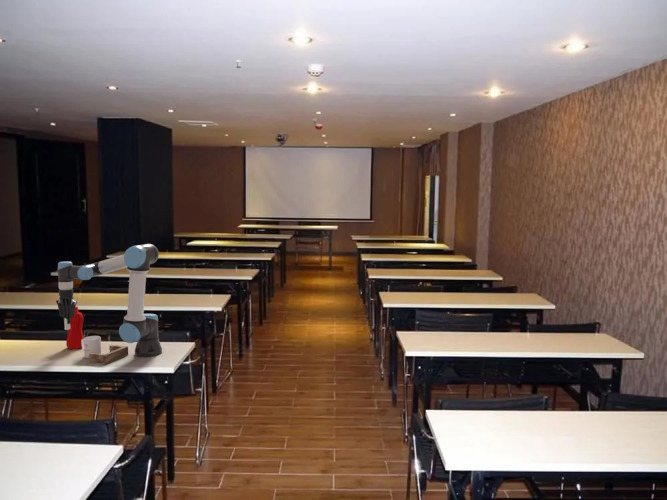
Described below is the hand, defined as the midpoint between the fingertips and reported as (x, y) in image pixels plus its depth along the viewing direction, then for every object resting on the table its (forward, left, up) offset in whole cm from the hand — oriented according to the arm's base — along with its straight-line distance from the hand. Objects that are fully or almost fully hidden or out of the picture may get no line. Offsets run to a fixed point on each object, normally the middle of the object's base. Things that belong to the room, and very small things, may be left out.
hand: (67, 329), depth 335 cm
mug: (-15, 0, -15) cm, 21 cm away
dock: (-28, 0, -15) cm, 31 cm away
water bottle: (+7, -13, -15) cm, 21 cm away
